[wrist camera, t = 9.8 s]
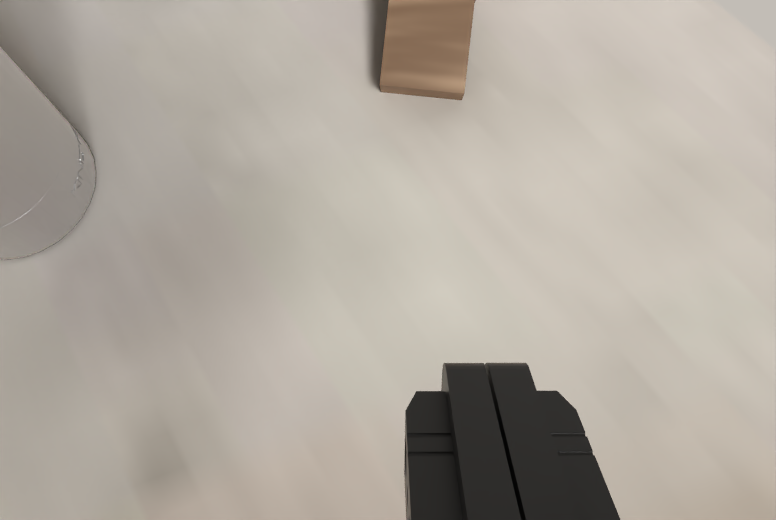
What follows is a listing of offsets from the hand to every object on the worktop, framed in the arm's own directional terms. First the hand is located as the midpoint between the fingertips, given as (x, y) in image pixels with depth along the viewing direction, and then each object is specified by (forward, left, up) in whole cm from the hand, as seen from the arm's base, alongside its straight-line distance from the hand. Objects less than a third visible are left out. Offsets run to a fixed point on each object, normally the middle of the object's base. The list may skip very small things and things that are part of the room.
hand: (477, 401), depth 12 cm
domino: (+4, +20, -22) cm, 30 cm away
